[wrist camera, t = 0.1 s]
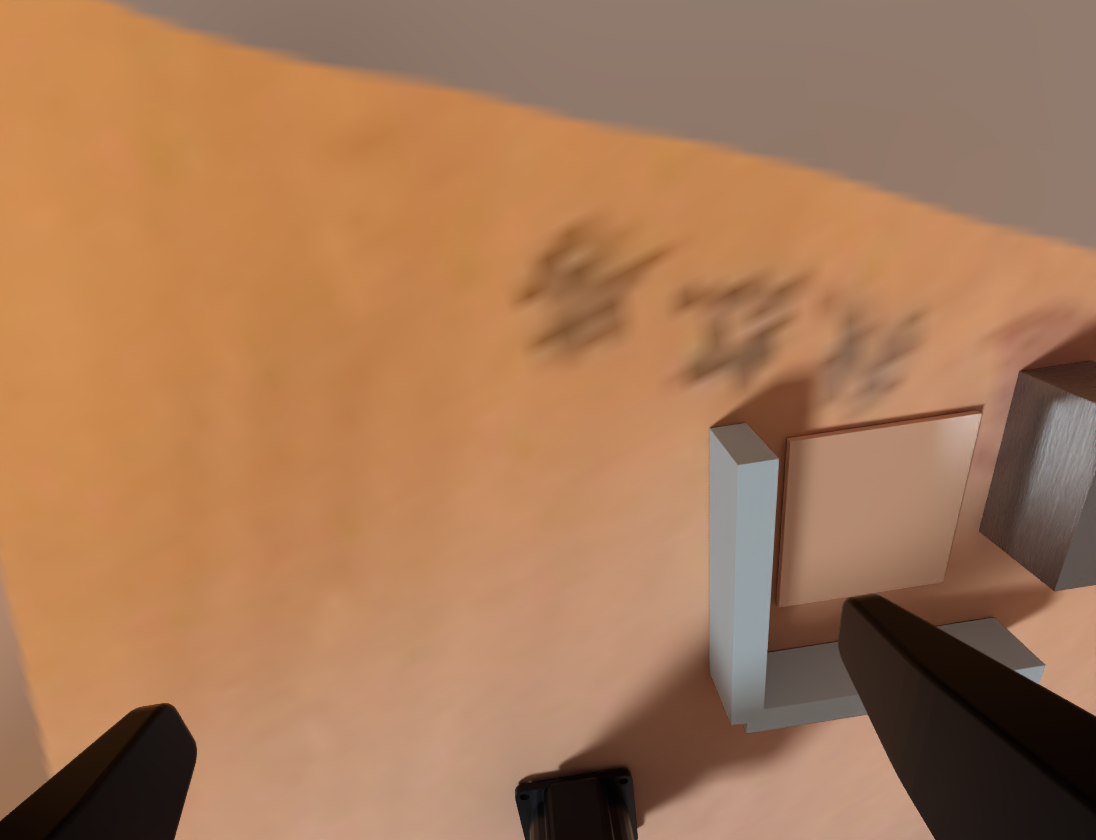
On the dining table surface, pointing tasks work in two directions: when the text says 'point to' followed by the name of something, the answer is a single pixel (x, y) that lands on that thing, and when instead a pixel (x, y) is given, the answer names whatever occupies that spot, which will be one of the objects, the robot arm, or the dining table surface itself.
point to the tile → (872, 507)
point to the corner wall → (744, 606)
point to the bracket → (1048, 477)
